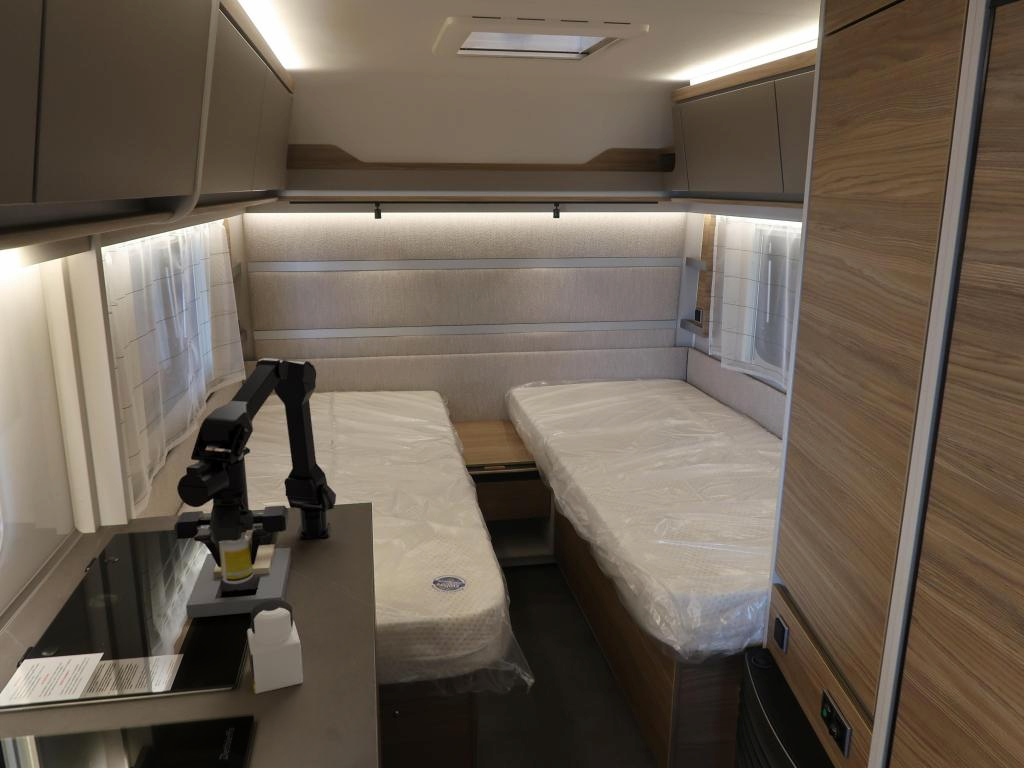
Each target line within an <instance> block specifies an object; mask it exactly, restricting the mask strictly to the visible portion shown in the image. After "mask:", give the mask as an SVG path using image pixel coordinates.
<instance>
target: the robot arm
mask: <svg viewBox="0 0 1024 768" xmlns="http://www.w3.org/2000/svg"><path fill="white" fill-rule="evenodd" d="M316 380H317V370H316V368H315V366H314V364H313V363H311V362H310V361H307V360H292V359H283V358H276V357H275V358H273V357H262V358H261V359H260V358H259V359H258V360H257V362H256V365H255V368H254V370H253V371H252V372H251V373H250V375H249V376H248V378H247V379H246V380H245V382H244V383H243V384H242V386H241V387H240V388H239V390H238V391H237V392H236V393H235V395H234V396H233V397H232V399H231V400H230V401H229V402H227V404H224V405H222V406H220V407H217V408H215V409H214V410H212V412H211V413H210V414H209V415H207V416H206V417H205V418H204V420H203V421H202V423H201V425H200V427H199V430H198V433H197V437H196V440H195V443H194V446H193V449H192V453H191V456H190V460H192V461H198V462H196V463H194V464H190V465H189V466H187V467H186V468H185V469H186V474H185V475H183V476H182V477H181V478H180V479H179V481H178V484H177V487H176V488H177V489H176V490H177V494H178V496H179V498H180V500H182V502H183V503H185V504H186V505H188V506H190V507H192V508H199V507H203V506H205V505H206V504H207V503H208V502H210V501H212V505H213V506H212V508H211V513H210V516H209V517H208V516H205V514H204V511H203V510H197V511H183V512H181V514H179V516H178V517H177V520H176V521H175V524H174V528H173V530H174V531H173V532H174V539H176V540H183V539H184V540H185V539H193V540H194V541H195V542H201V543H202V544H204V545H205V547H206V548H207V549H208V551H209V552H210V554H212V556H213V558H214V560H215V562H216V563H217V565H218V567H221V561H220V550H219V543H220V541H225V540H232V541H236V540H239V539H240V538H241V536H242V532H246V531H247V530H252V529H253V532H252V535H251V537H252V550H251V561H252V565H254V563H255V560H256V556H257V552H258V548H259V545H260V544H261V541H262V540H263V538H264V537H268V536H270V534H271V533H280V532H284V531H286V530H287V526H288V522H289V510H288V509H289V508H290V509H299V518H300V519H299V520H300V521H299V522H300V525H299V529H298V535H297V538H298V540H305V539H317V538H318V539H319V538H329V537H330V530H331V523H330V522H328V511H329V510H333V509H334V508H335V504H336V502H337V494H336V493H335V492H334V490H333V489H332V488H331V487H330V486H329V485H328V481H327V477H326V473H325V472H324V470H323V469H322V468H321V467H320V466H319V465H318V463H317V459H316V458H317V457H316V449H315V441H314V432H313V424H312V423H313V422H312V415H311V406H310V405H311V404H310V399H311V397H312V395H313V393H314V391H315V389H316ZM273 391H274V393H275V395H277V397H278V399H279V400H281V401H282V403H283V404H284V411H285V417H286V419H285V420H286V427H287V434H288V442H289V449H290V459H291V466H292V469H291V471H290V472H289V474H288V476H287V477H286V478H285V479H284V487H285V496H286V498H287V501H288V505H289V508H288V507H286V505H270V506H265V507H264V509H263V512H257V513H253V511H252V510H251V509H249V507H250V506H249V497H248V495H249V494H248V484H247V474H246V473H247V472H246V471H247V470H246V462H245V456H247V455H248V454H249V453H251V450H250V448H248V447H247V446H246V445H247V444H248V442H249V439H250V437H251V435H252V434H253V431H254V427H253V420H254V418H255V416H256V415H257V414H258V412H259V411H260V409H262V406H264V405H265V402H266V401H267V400H268V398H269V397H270V396H271V394H272V392H273ZM207 448H208V449H207ZM211 449H217V450H211ZM218 449H220V450H218ZM221 450H222V451H221Z"/></svg>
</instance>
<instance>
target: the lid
mask: <svg viewBox="0 0 1024 768" xmlns="http://www.w3.org/2000/svg"><path fill="white" fill-rule="evenodd" d="M253 529H254V528H253ZM253 529H252V530H247V531H246V536H247V537H249V539H250V542H251V550H252V537H251V535H252V532H253ZM275 546H276V545H275V543H274V544H262V545H260V544H259V548H258V552H257V556H256V560H255V563H254V565H253V575H254V574H266V573H270V569H271V564H272V560H273V556H274V552H275V549H276V547H275ZM213 573H214V578H216V577H222V572H221V567H218V565H217V564H216V566H215V569H214V572H213Z"/></svg>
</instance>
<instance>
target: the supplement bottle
mask: <svg viewBox="0 0 1024 768" xmlns="http://www.w3.org/2000/svg"><path fill="white" fill-rule="evenodd" d="M219 550H220V561H221V572H222V579H223V581H224V582H226V583H229V584H239V583H243V582H245V581H248V580H249V579H250V578H252V576H253V565H252V561H251V542H250V539H249V537H247V536H246V532H242V536H241V538H240V539H239V540H236V541H232V540H225V541H220V542H219Z"/></svg>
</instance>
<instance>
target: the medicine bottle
mask: <svg viewBox="0 0 1024 768" xmlns="http://www.w3.org/2000/svg"><path fill="white" fill-rule="evenodd" d="M249 614H250V622H251V623H250V625H251V626H250V627H251V628H248V629H247V630H246V635H247V645H248V656H249V667H250V673H251V674H250V675H251V681H252V686H253V692H254V694H261V693H265V692H270V691H273V690H279V689H283V688H287V687H292V686H296V685H300V684H302V683H303V681H304V677H303V662H302V648H301V640H300V637H299V634H298V630H297V627H296V624H295V621H294V619H293V607H292V605H291V603H289V602H287V601H285V600H284V601H282V600H270V601H266V602H263V603H260V604H258V605H257V606H255V607H254V608H253V610H252V611H251V613H249Z"/></svg>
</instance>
